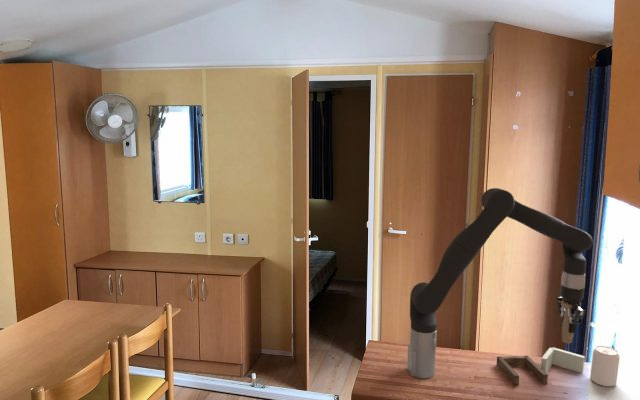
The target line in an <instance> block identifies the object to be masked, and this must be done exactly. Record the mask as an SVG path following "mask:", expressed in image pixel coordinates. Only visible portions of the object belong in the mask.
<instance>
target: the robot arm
mask: <svg viewBox="0 0 640 400" xmlns="http://www.w3.org/2000/svg"><path fill="white" fill-rule="evenodd" d="M480 204H481V206H482V210H481V212H480V213H479V214H478V215H477V217H476V218H475V219H474V221H473V222H471V223H470V224H469V225H468V226H466V227H465V228H464V229H463V230H461V231H460V232H459V233H458V234H457V235H456V236H455V237H454V238H453V240H452V241H451V243H450V244H449V245H448V247H446V248H445V249H446V250H445V251H444V253H443V255H442V258H441V260H440V262H439V266H438V268H437V270H436V273H435V274H434V276H433V277H432V278H431V280H430V281H429V282H418V283H417V284H414V286H413V287H412V289H411V292H410V299H409V317H410V318H409V320H410V336H409V337H410V338H409V339H410V340H409V344H408V345H407V362H406V364H407V365H406V369H407V371H408V373H409V374H410V376H411V377H413V378H418V379H430V378H433V376H435V370H436V351H437V350H436V348H437V334H438V333H437V331H438V322H437V316H436V311H438V310H439V309H440V307H441V306H442V304H443V303H444V300H445V299H446V297H447V295H448V294H449V292H450V290H451V289H452V288H453V286H454V285H455V283H456V282H457V280H459V278H460V277H461V275H462V274H463V273H464V271H465V270H466V269H467V268H468V266H469V265H470V264H471V262H472V261H474V258H476V256H477V255H478V253H479V252H480V251H481V249H482V248H483V246H484V245H485V244H486V242H487V241H488V240H489V238H490V237H491V235H492V234H493V233H494V231H495V230H496V229H497V228H498V226H500V225H501V224H502V223H503V222H504V220H505V219H507V218H509V219H511V220H514V221H516V222H519V223H520V224H522V225H524V226H526V227H527V228H529V229H531V230H534V231H535V232H537V233H538V234H541V235H543V236H545V237H548V238H550V239H552V240H556V241H558V242H560V243H561V244H562V251H563V252H562V253H563V258H564V259H563V270H562V274H561V280H560V289H559V296H557V297H556V305H557V314H559V315H560V317H561V321H560V327H561V328H562V325H563V319H564V313H565V308H564V307H563V306H562V305H561V301H563V300H564V302H567V303H569V304H568V305H572V308H570V307H568V316H569V320H570V323H569V330H568V332H569V333H574V334H575V333H576V330H577V329H576V328H577V325H579V324H582V323H583V320H584V317H585V315H586V310H585V309H582V308H581V307H580V303H581V301H583V299H584V298H585V296H584V295H585V287H586V272H587V259H586V257H584V254H583V252H586V251H588V250H590V249H591V248H592V246H593V243H594V242H593V237H592V235H590V234H589V233H588V232H586V231H585V230H582V229H580V228H577V227H574V226H573V225H569V224H567V222H566V223H565V222H564V221H562V220H561V219H559V218H556V217H554V216H553V215H550V214H549V213H545V212H543V211H540V210H538V209H536V208H532V207H530V206H527V205H525V204H523V203H521V202H519V201H518V200H516V199H515V197H514V195H513V193H512V192H510V191H507V190H505V189H502V188H497V187H495V188H494V187H493V188H489V189H487V190H485V191H484V192H483V193H482V196H481V198H480ZM571 313H575V314H571ZM573 317H574V319H573Z"/></svg>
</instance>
